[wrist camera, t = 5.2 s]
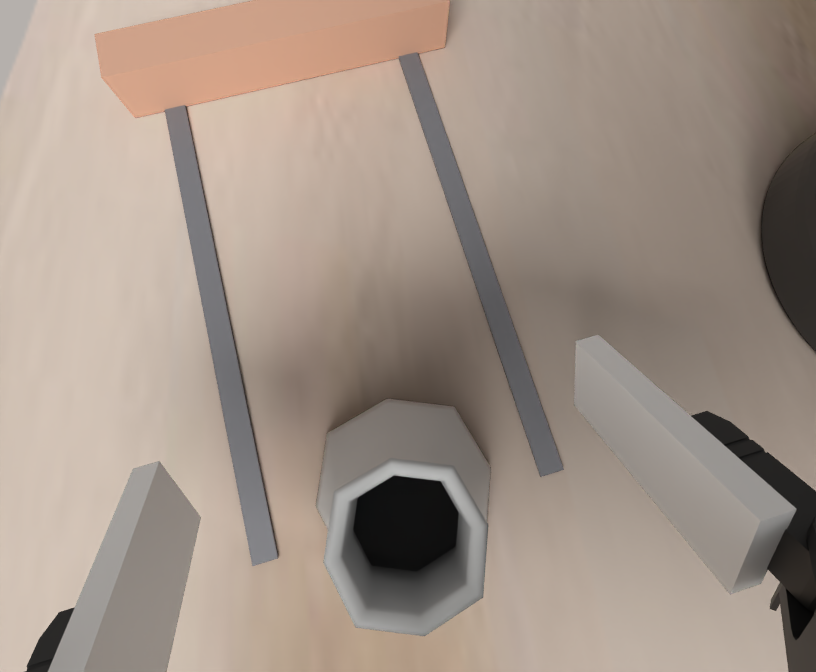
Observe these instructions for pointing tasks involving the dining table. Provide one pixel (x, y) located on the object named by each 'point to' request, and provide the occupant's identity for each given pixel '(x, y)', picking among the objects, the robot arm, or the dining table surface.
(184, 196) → the stop bar lane
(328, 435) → the flask
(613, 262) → the dining table surface
